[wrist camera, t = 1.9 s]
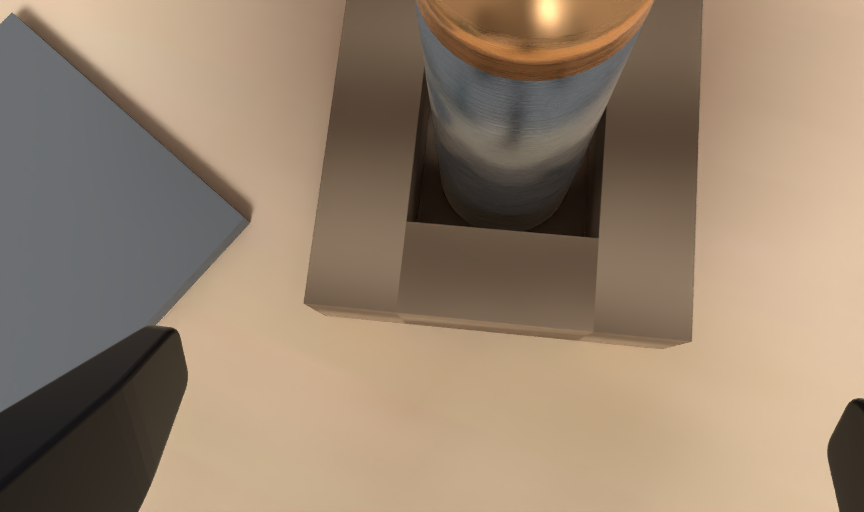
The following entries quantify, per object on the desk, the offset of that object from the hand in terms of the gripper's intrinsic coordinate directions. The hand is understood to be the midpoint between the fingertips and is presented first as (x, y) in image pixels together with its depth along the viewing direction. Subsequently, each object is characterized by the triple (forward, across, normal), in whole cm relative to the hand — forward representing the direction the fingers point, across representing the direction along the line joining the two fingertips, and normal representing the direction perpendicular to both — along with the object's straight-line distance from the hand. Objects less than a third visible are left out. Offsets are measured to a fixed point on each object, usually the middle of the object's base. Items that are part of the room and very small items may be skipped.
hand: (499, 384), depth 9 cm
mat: (+12, +17, +7) cm, 22 cm away
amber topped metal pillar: (+15, 0, +4) cm, 15 cm away
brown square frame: (+15, 0, +4) cm, 15 cm away
